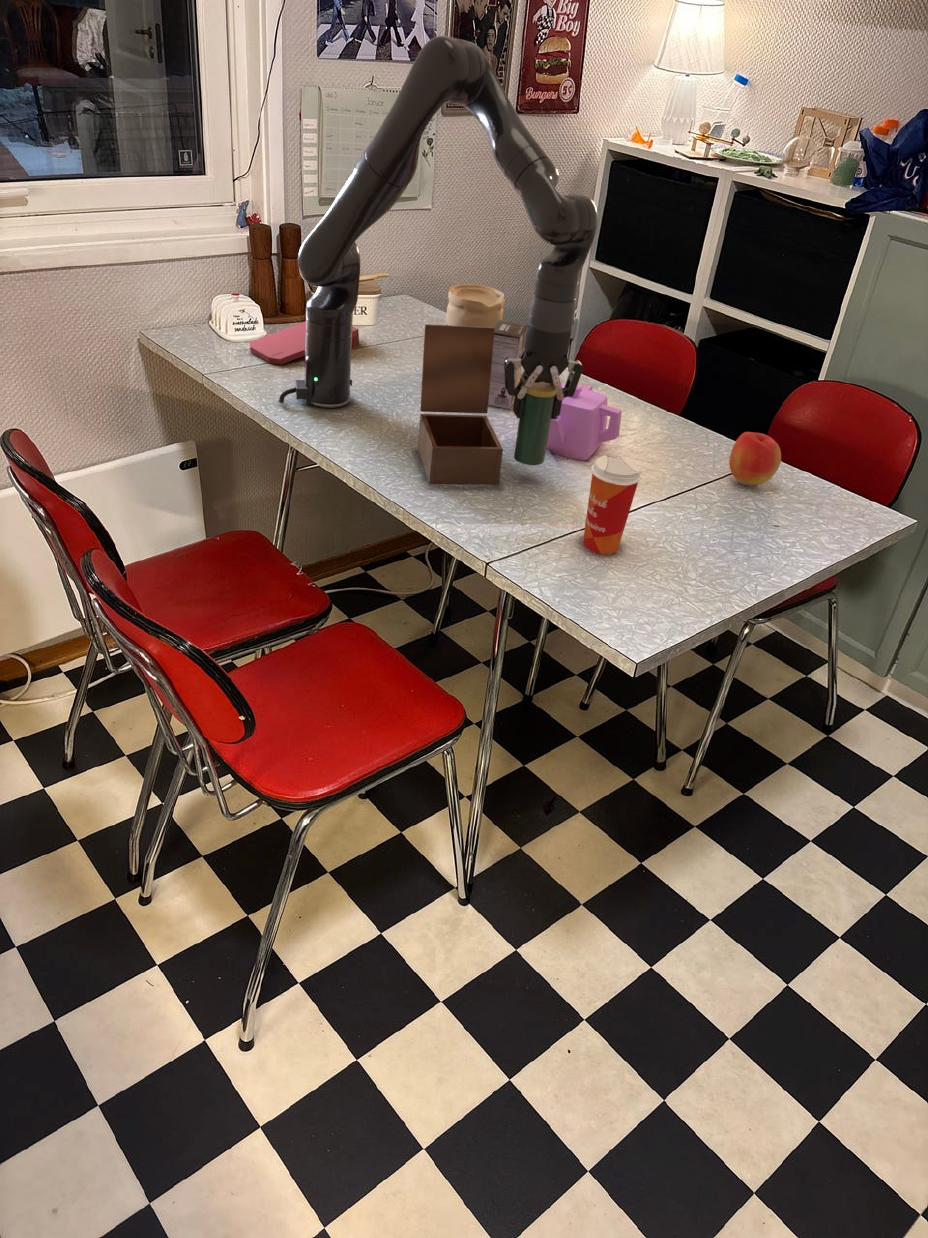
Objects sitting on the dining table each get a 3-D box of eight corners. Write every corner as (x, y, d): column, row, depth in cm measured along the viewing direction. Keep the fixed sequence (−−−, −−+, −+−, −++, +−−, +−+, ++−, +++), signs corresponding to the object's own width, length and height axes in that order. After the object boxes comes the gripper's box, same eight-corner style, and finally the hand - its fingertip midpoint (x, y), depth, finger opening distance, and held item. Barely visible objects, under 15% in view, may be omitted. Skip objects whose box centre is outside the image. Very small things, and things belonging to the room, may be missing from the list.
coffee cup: (572, 531, 163) (588, 452, 155) (618, 534, 164) (636, 455, 156) (581, 557, 156) (598, 475, 148) (629, 559, 157) (649, 478, 149)
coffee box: (489, 389, 213) (499, 318, 204) (517, 395, 212) (528, 323, 203) (482, 404, 205) (491, 331, 196) (511, 410, 205) (521, 336, 195)
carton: (277, 380, 213) (364, 347, 226) (274, 360, 210) (363, 327, 223) (247, 363, 220) (333, 331, 233) (244, 343, 216) (331, 311, 229)
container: (504, 371, 223) (515, 294, 213) (476, 385, 214) (486, 305, 204) (460, 356, 228) (468, 280, 218) (431, 369, 219) (438, 290, 209)
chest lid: (494, 328, 173) (493, 327, 174) (425, 324, 171) (424, 324, 171) (487, 413, 180) (486, 412, 181) (420, 411, 177) (420, 410, 178)
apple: (744, 496, 182) (759, 448, 176) (712, 474, 189) (726, 427, 183) (781, 490, 186) (797, 443, 180) (749, 468, 193) (763, 422, 187)
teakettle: (619, 459, 190) (632, 400, 183) (543, 464, 184) (553, 404, 177) (581, 423, 203) (592, 368, 195) (509, 428, 197) (517, 370, 190)
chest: (497, 488, 173) (503, 449, 169) (428, 488, 171) (432, 447, 166) (481, 453, 185) (486, 415, 181) (417, 452, 182) (420, 413, 178)
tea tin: (516, 465, 170) (528, 391, 162) (509, 451, 175) (520, 378, 167) (548, 466, 171) (561, 392, 163) (540, 451, 176) (552, 379, 168)
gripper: (584, 317, 163) (568, 409, 173) (504, 313, 160) (491, 407, 170) (597, 332, 157) (579, 427, 167) (513, 328, 154) (500, 425, 164)
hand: (535, 416), depth 169 cm, fingers closed on tea tin, 5 cm apart
